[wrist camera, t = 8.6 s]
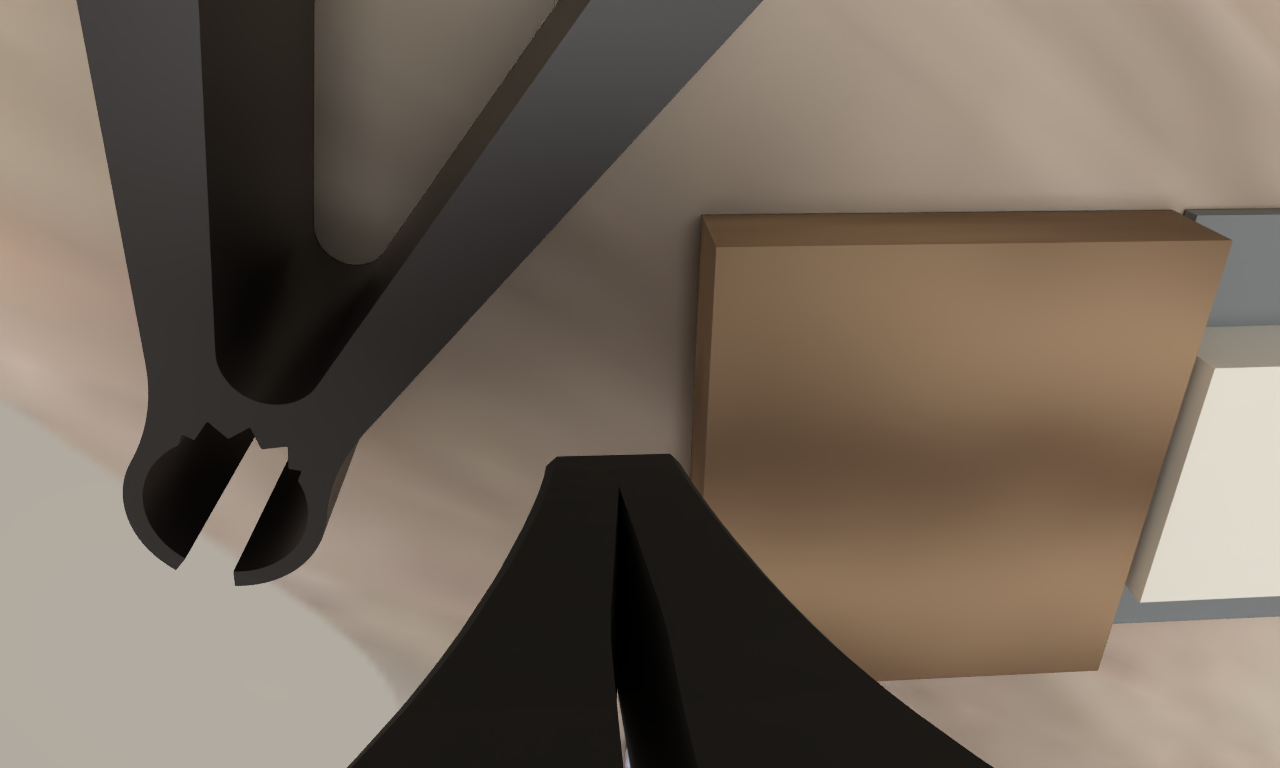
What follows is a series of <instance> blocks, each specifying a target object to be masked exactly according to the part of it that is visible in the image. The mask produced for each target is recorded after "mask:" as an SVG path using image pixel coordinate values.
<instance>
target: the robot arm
mask: <svg viewBox="0 0 1280 768" xmlns="http://www.w3.org/2000/svg"><path fill="white" fill-rule="evenodd" d="M617 690H618V696H619V702H620V708H621V714H622V720H623V726H624V732H625V738H626V744H627V748H626V752H625V768H993V767H992V766H990V765H989V764H987V763H986V762H984V761H983V760H981V759H980V758H978V757H977V756H976V755H974V754H973V753H971V752H970V751H969V750H967V749H966V748H964V747H963V746H962V745H960V744H959V743H957V742H956V741H955V740H953V739H952V738H950V737H949V736H948V735H946V734H945V733H943V732H942V731H941V730H939V729H938V728H937V727H935V726H934V725H932V724H931V723H930V722H928V721H927V720H925V719H924V718H923V717H921V716H920V715H918V714H917V713H916V712H914V711H913V710H912V709H910V708H909V707H908V706H907V705H905V704H904V703H903V702H901V701H900V700H899V699H898V698H896V697H895V696H894V695H892V694H891V693H890V692H889V691H887V690H886V689H885V688H884V687H882V686H881V685H880V684H879V683H878V682H876V681H875V680H874V679H873V678H872V677H871V676H869V675H868V674H867V673H866V672H865V671H864V670H862V669H861V668H860V667H859V666H858V665H856V664H855V663H854V662H853V661H852V660H851V659H849V658H848V657H847V656H846V655H845V654H844V653H843V652H842V651H841V650H839V649H838V648H837V647H836V646H835V645H834V644H833V643H832V642H831V641H830V640H829V639H828V638H827V637H826V636H824V635H823V634H822V633H821V632H820V631H819V630H818V629H817V628H816V627H815V626H814V625H813V624H812V623H811V622H810V621H809V620H808V619H807V618H806V617H805V616H804V615H803V614H802V613H801V612H800V611H799V610H798V609H797V608H796V607H795V606H794V605H793V604H792V603H791V601H790V600H789V599H788V598H787V597H786V596H785V595H784V594H783V593H782V592H781V591H780V590H779V589H778V588H777V587H776V586H775V585H774V583H773V582H772V581H771V580H770V579H769V578H768V577H767V576H766V575H765V574H764V572H763V571H762V570H761V569H760V568H759V567H758V565H757V564H756V563H755V562H754V561H753V560H752V558H751V557H750V556H749V555H748V554H747V552H746V551H745V550H744V549H743V548H742V547H741V545H740V544H739V543H738V542H737V541H736V540H735V538H734V537H733V536H732V535H731V533H730V532H729V531H728V530H727V528H726V527H725V526H724V525H723V523H722V522H721V521H720V520H719V518H718V517H717V516H716V514H715V513H714V512H713V510H712V509H711V508H710V506H709V505H708V504H707V502H706V501H705V500H704V498H703V497H702V496H701V494H700V493H699V491H698V490H697V489H696V487H695V486H694V484H693V483H692V481H691V480H690V478H689V477H688V475H687V474H686V472H685V471H684V469H683V468H682V466H681V465H680V463H679V462H678V461H677V460H676V459H675V458H674V457H673V456H672V455H671V454H644V455H604V456H564V457H556V458H555V459H554V460H553V461H551V462H550V463H549V464H548V465H547V466H546V470H545V475H544V479H543V482H542V485H541V487H540V490H539V493H538V495H537V498H536V500H535V503H534V505H533V507H532V509H531V512H530V514H529V516H528V518H527V520H526V522H525V524H524V527H523V529H522V530H521V532H520V534H519V536H518V538H517V540H516V542H515V543H514V545H513V547H512V549H511V551H510V553H509V554H508V556H507V558H506V560H505V562H504V564H503V565H502V567H501V569H500V571H499V572H498V574H497V576H496V578H495V579H494V581H493V582H492V584H491V586H490V587H489V589H488V590H487V592H486V593H485V595H484V596H483V598H482V599H481V601H480V602H479V604H478V605H477V607H476V609H475V610H474V612H473V613H472V615H471V616H470V618H469V619H468V621H467V622H466V624H465V625H464V627H463V628H462V630H461V631H460V633H459V634H458V636H457V637H456V638H455V640H454V641H453V643H452V644H451V645H450V647H449V648H448V649H447V651H446V652H445V653H444V655H443V656H442V658H441V659H440V660H439V661H438V663H437V664H436V665H435V667H434V668H433V669H432V671H431V672H430V673H429V674H428V676H427V677H426V678H425V679H424V681H423V682H422V683H421V684H420V686H419V687H418V688H417V689H416V690H415V692H414V693H413V694H412V695H411V697H410V698H409V699H408V700H407V702H406V703H405V704H404V705H403V706H402V707H401V709H400V710H399V711H398V712H397V713H396V714H395V715H394V717H393V718H392V719H391V720H390V721H389V722H388V723H387V724H386V725H385V727H384V728H383V729H382V730H381V731H380V732H379V733H378V735H376V737H375V738H374V739H373V740H372V741H371V742H370V743H369V744H368V745H367V747H366V748H365V749H364V750H363V751H362V752H361V753H360V754H359V756H358V757H357V758H356V759H355V760H354V761H353V762H352V763H351V764H350V765H349V766H348V767H347V768H623V760H622V750H621V740H620V731H619V721H618V711H617Z"/></svg>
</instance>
